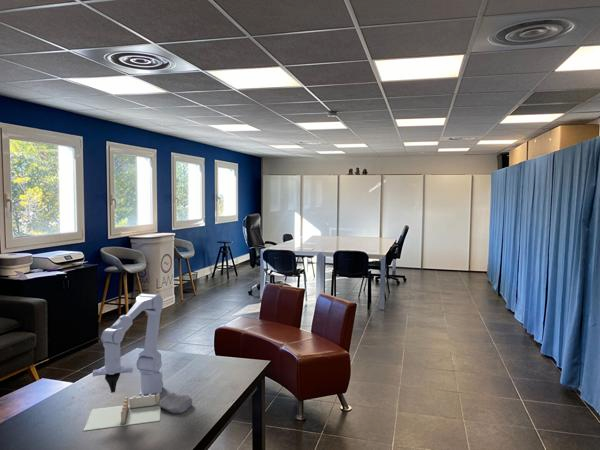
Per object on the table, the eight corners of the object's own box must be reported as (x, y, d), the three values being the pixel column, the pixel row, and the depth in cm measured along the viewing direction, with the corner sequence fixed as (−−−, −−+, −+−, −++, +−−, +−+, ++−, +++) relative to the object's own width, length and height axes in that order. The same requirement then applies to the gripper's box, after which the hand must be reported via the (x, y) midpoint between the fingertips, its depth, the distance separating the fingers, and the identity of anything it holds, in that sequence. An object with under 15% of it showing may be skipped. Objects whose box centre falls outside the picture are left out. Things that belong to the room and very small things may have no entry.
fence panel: (124, 409, 173) (124, 398, 173) (128, 409, 174) (127, 398, 173) (120, 424, 162) (120, 412, 162) (124, 423, 162) (124, 411, 162)
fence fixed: (160, 404, 179) (159, 392, 179) (159, 406, 178) (159, 394, 177) (124, 408, 175) (124, 396, 175) (124, 410, 174) (124, 398, 174)
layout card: (161, 401, 182) (161, 400, 182) (159, 421, 166) (159, 420, 166) (92, 409, 174) (92, 408, 174) (83, 431, 158) (83, 430, 158)
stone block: (180, 419, 170) (194, 403, 179) (179, 408, 169) (193, 393, 178) (156, 414, 174) (170, 399, 183) (154, 404, 173) (169, 389, 182)
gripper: (90, 363, 164) (91, 398, 164) (131, 360, 168) (131, 393, 168) (94, 357, 170) (94, 390, 171) (132, 353, 174) (133, 386, 175)
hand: (113, 391), depth 170 cm, fingers closed
